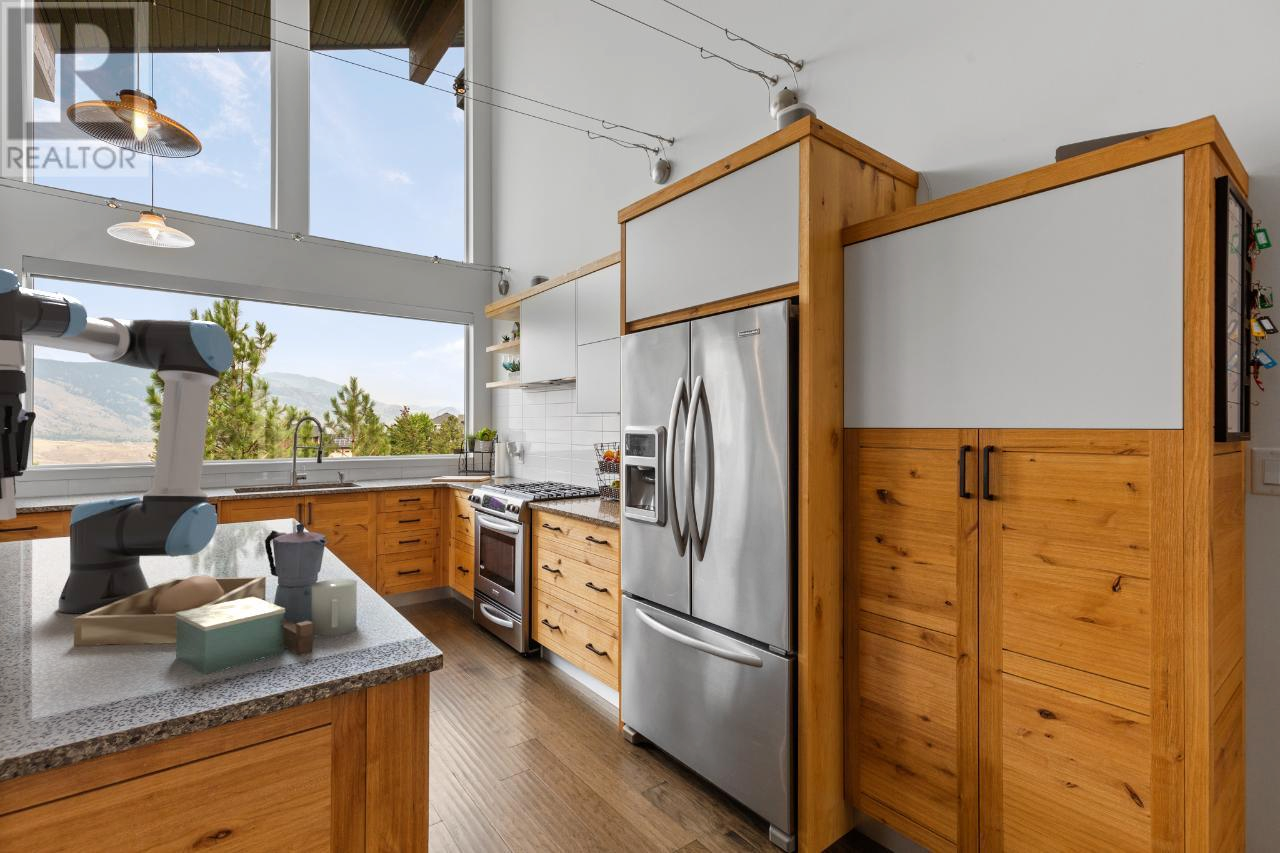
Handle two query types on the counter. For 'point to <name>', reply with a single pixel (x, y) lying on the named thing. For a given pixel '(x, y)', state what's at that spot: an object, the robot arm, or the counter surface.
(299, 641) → the walnut stop rail
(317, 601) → the sage mug
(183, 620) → the green tea tin
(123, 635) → the pine crate
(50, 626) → the counter surface
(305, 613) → the moka pot
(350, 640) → the counter surface
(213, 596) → the squash
